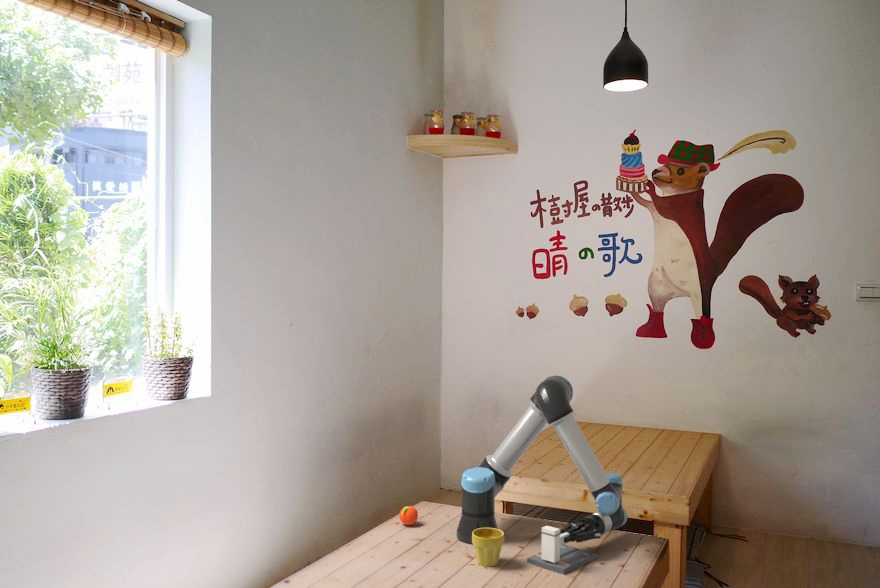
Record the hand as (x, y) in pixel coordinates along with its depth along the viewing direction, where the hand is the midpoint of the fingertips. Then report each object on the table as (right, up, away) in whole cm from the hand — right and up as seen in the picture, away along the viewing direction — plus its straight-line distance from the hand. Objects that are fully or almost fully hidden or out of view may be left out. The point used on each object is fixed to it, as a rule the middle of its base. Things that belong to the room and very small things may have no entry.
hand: (556, 541), depth 239 cm
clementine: (-49, -7, +37) cm, 62 cm away
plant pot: (-22, -7, +1) cm, 23 cm away
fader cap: (-2, -5, -2) cm, 6 cm away
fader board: (+2, -7, +3) cm, 8 cm away
